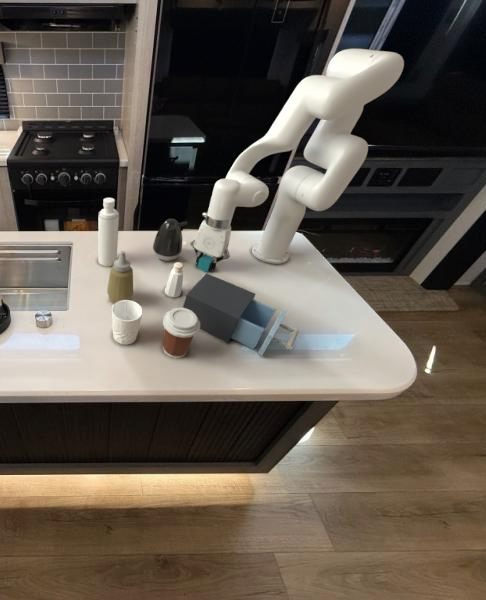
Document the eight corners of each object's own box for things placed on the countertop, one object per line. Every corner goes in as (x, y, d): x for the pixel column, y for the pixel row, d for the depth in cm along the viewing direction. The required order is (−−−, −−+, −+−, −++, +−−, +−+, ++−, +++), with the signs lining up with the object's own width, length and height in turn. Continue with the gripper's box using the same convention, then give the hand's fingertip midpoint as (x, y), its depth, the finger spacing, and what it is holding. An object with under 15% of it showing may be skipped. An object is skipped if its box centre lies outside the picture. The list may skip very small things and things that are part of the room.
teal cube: (202, 262, 113) (204, 253, 111) (212, 267, 112) (215, 257, 109) (196, 268, 111) (199, 258, 109) (207, 272, 109) (210, 263, 107)
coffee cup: (181, 332, 89) (189, 301, 81) (198, 356, 82) (209, 325, 74) (152, 340, 87) (157, 308, 79) (167, 365, 80) (175, 334, 72)
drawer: (293, 339, 86) (306, 319, 80) (280, 366, 79) (293, 346, 74) (229, 309, 94) (236, 290, 89) (212, 331, 88) (220, 311, 83)
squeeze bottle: (130, 310, 95) (135, 262, 83) (104, 306, 97) (105, 258, 84) (133, 293, 101) (138, 245, 89) (109, 290, 102) (110, 242, 90)
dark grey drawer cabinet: (244, 318, 93) (255, 293, 86) (227, 343, 86) (238, 319, 79) (199, 297, 100) (206, 273, 93) (180, 318, 93) (186, 294, 86)
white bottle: (105, 253, 118) (106, 188, 101) (120, 259, 115) (124, 194, 98) (94, 262, 114) (94, 196, 97) (110, 268, 111) (112, 201, 94)
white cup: (123, 321, 92) (125, 295, 85) (144, 335, 88) (148, 310, 81) (105, 335, 88) (105, 310, 81) (126, 351, 84) (128, 325, 77)
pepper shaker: (174, 300, 99) (180, 272, 91) (160, 291, 102) (165, 264, 94) (184, 292, 101) (191, 265, 94) (171, 284, 104) (177, 257, 97)
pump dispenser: (182, 265, 113) (191, 227, 102) (153, 264, 113) (159, 227, 102) (177, 249, 120) (185, 212, 110) (150, 249, 120) (155, 212, 110)
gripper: (188, 216, 101) (178, 263, 113) (239, 234, 93) (223, 282, 105) (199, 208, 105) (188, 254, 117) (249, 224, 97) (231, 271, 109)
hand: (204, 266), depth 111 cm, fingers closed on teal cube, 4 cm apart
